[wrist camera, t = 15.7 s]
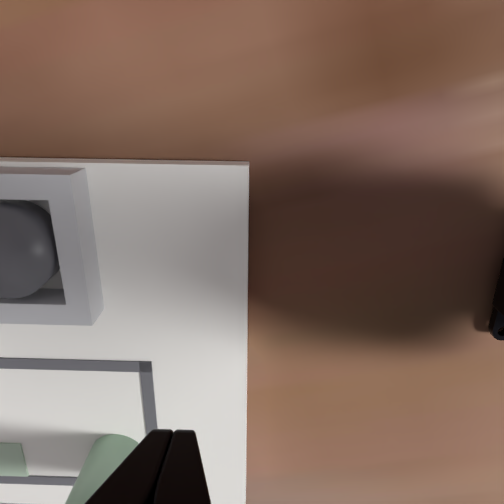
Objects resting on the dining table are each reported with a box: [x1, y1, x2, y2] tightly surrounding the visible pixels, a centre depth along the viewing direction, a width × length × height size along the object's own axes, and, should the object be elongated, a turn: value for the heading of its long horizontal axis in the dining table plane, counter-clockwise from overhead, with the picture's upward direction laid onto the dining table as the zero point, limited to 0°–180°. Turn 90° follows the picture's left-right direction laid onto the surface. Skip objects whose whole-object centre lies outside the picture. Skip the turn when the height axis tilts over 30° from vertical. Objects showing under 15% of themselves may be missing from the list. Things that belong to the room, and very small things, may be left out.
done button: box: [0, 199, 60, 299], centre depth 18 cm, size 4×4×2 cm
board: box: [0, 157, 249, 504], centre depth 21 cm, size 20×20×2 cm
